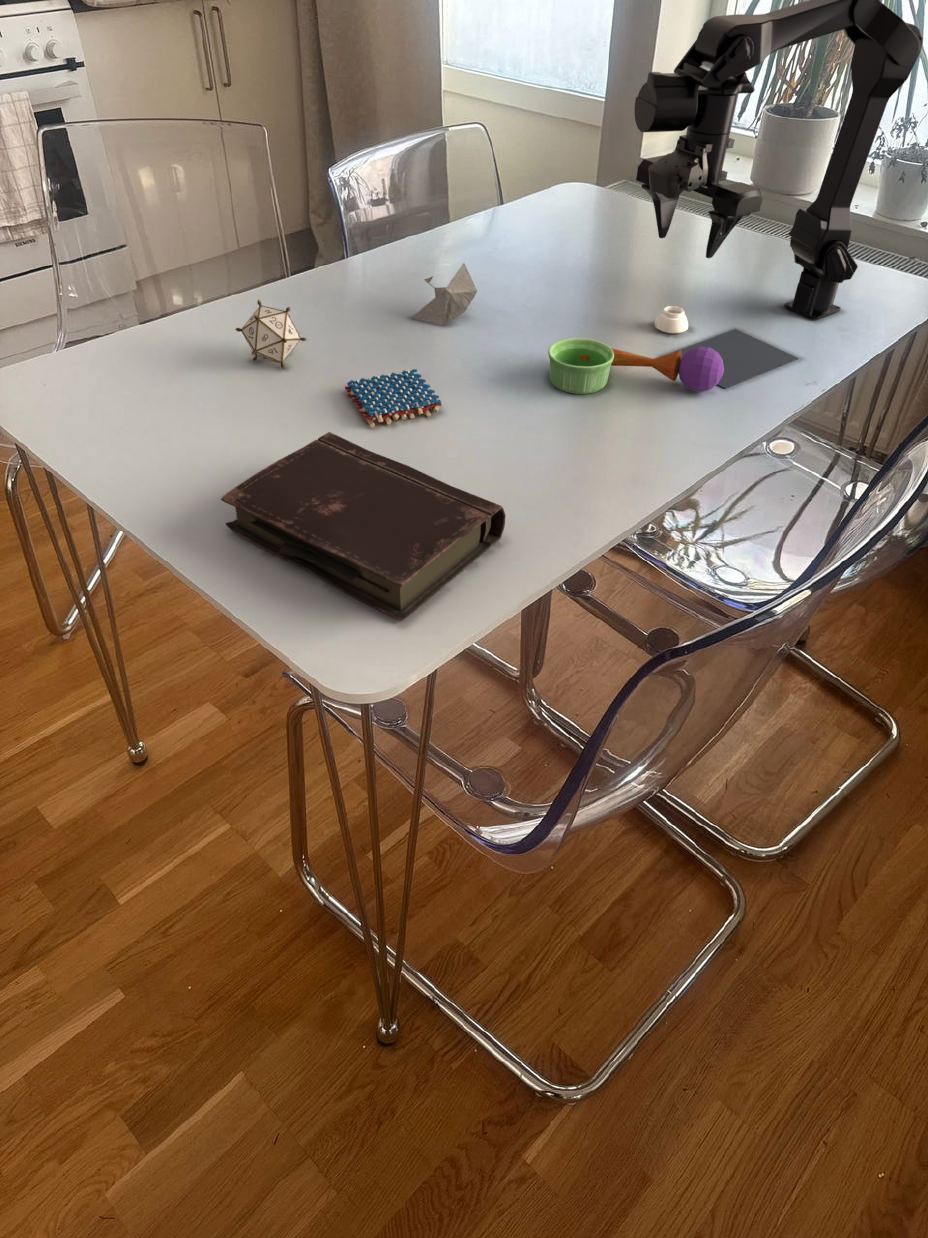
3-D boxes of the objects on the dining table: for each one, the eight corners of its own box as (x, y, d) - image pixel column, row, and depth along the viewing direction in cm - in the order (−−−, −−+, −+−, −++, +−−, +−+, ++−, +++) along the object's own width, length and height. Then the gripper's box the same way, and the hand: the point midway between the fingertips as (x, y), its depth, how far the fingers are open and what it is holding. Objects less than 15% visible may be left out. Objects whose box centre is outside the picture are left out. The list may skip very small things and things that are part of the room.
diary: (336, 462, 114) (332, 426, 110) (504, 537, 103) (507, 500, 100) (221, 535, 102) (213, 497, 99) (397, 628, 92) (395, 589, 88)
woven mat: (342, 392, 127) (341, 379, 126) (415, 379, 130) (415, 365, 129) (367, 429, 120) (366, 415, 118) (443, 414, 123) (443, 400, 122)
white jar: (654, 320, 146) (654, 333, 142) (657, 301, 144) (657, 315, 140) (687, 322, 145) (687, 336, 142) (690, 304, 143) (690, 318, 140)
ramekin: (559, 361, 135) (561, 332, 132) (618, 374, 132) (622, 345, 129) (536, 388, 129) (538, 358, 126) (598, 402, 126) (602, 372, 123)
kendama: (590, 328, 134) (730, 345, 127) (585, 370, 137) (723, 389, 130) (577, 334, 129) (722, 353, 122) (573, 377, 132) (714, 398, 125)
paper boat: (432, 328, 140) (391, 294, 143) (442, 350, 146) (403, 317, 149) (488, 271, 140) (446, 239, 143) (495, 295, 146) (455, 264, 149)
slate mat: (735, 329, 144) (735, 328, 144) (798, 358, 137) (798, 357, 137) (662, 356, 137) (662, 355, 137) (724, 388, 130) (725, 388, 129)
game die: (290, 381, 137) (327, 328, 132) (256, 385, 129) (294, 330, 125) (249, 338, 137) (285, 284, 133) (213, 340, 130) (249, 282, 125)
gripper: (617, 119, 127) (600, 236, 137) (721, 154, 116) (695, 279, 126) (673, 110, 132) (653, 224, 142) (778, 143, 121) (748, 264, 131)
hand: (685, 247), depth 135 cm, fingers open, 9 cm apart
